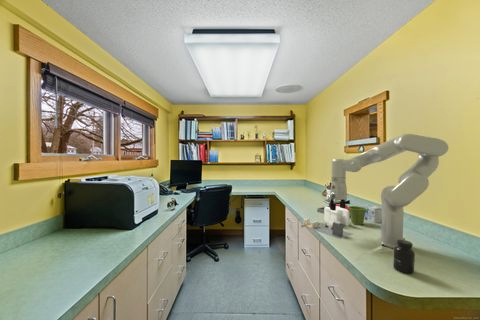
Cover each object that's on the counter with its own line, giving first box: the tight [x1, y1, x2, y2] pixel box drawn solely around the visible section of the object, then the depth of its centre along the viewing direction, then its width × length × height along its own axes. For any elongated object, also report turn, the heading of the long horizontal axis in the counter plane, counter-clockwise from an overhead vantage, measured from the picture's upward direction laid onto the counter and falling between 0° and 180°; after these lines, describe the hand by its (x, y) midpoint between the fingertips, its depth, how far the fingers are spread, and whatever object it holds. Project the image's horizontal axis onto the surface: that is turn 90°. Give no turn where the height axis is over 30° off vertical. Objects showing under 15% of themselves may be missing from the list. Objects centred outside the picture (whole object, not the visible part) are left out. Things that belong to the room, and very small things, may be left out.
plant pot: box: [348, 205, 367, 226], centre depth 148 cm, size 12×12×11 cm
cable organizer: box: [323, 206, 350, 227], centre depth 144 cm, size 15×11×12 cm
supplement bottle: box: [392, 239, 416, 275], centre depth 86 cm, size 7×7×12 cm
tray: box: [317, 205, 351, 219], centre depth 176 cm, size 24×28×3 cm
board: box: [300, 218, 353, 240], centre depth 131 cm, size 27×14×5 cm, turn 33°
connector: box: [332, 221, 344, 237], centre depth 122 cm, size 4×4×8 cm
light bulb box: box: [362, 204, 382, 224], centre depth 156 cm, size 11×7×11 cm, turn 17°
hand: (337, 209), depth 122 cm, fingers open, 9 cm apart
